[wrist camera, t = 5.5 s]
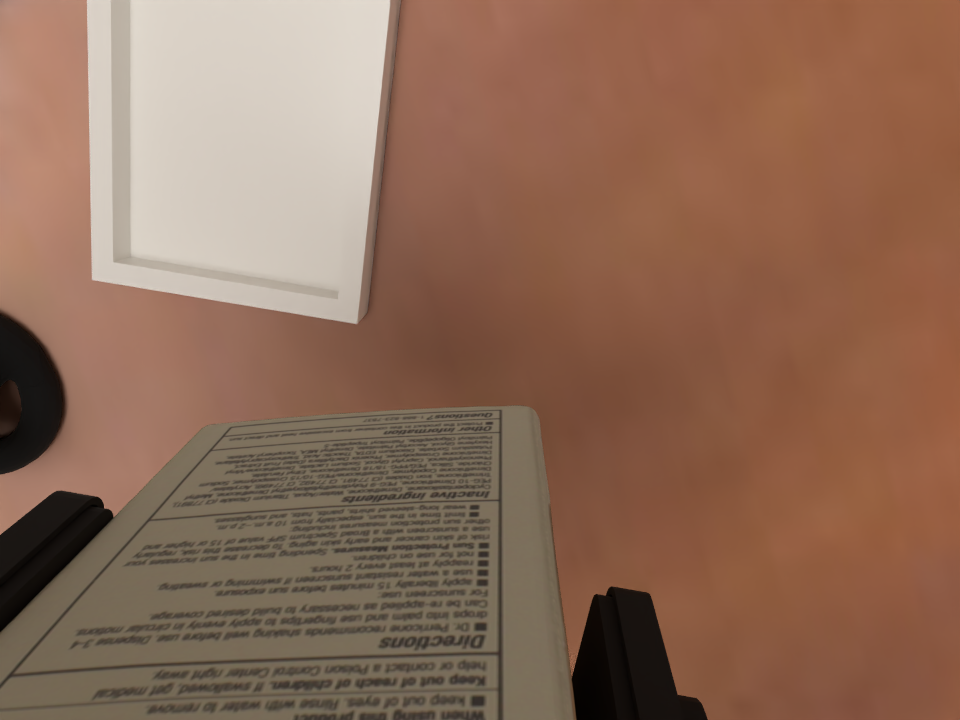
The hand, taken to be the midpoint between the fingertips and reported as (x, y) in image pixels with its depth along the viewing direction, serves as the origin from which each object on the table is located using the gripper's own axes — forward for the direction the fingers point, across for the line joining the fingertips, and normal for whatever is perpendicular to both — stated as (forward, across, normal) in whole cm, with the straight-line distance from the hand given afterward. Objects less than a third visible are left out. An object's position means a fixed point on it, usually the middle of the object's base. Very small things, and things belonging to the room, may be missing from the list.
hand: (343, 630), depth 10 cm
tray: (+19, +8, -5) cm, 21 cm away
